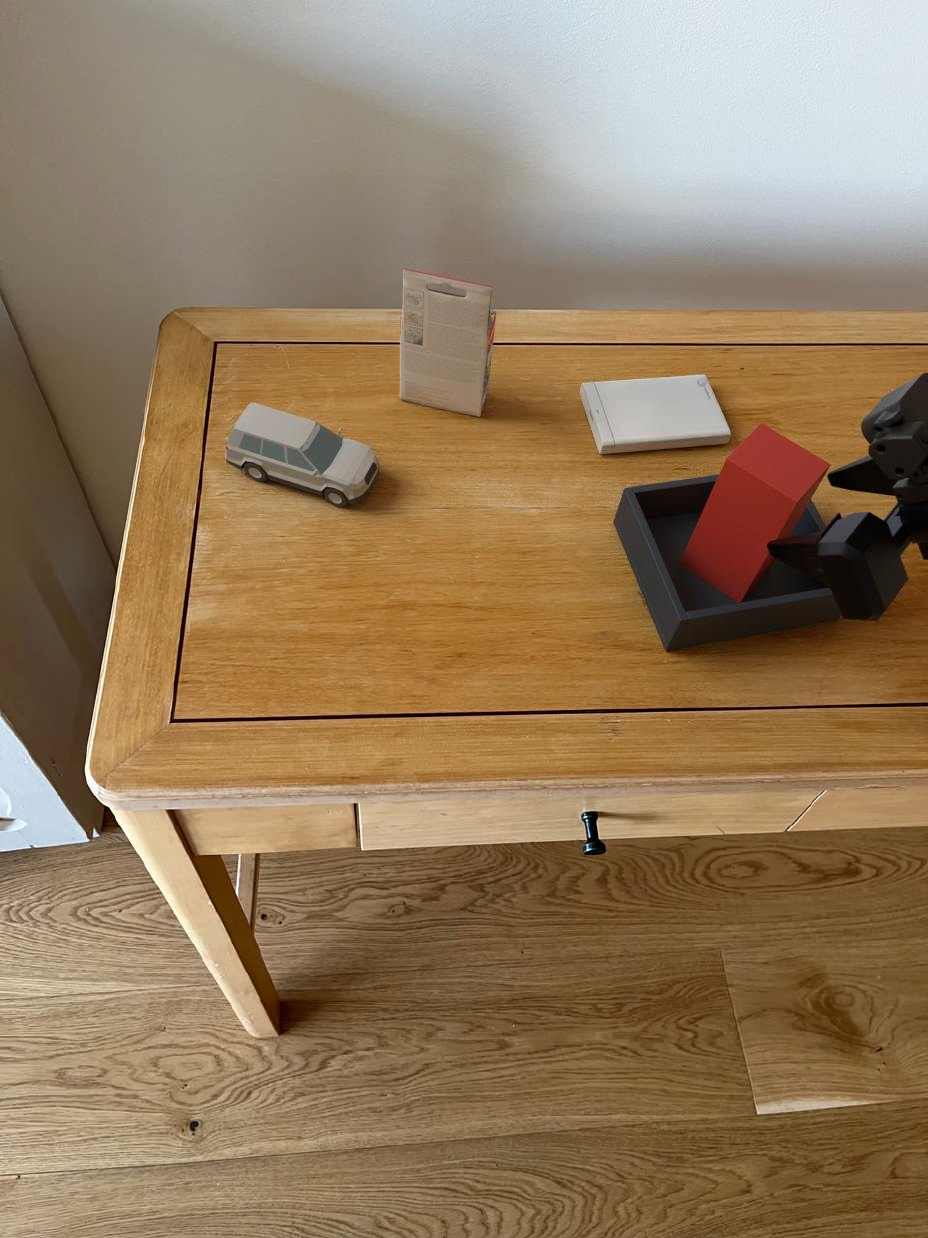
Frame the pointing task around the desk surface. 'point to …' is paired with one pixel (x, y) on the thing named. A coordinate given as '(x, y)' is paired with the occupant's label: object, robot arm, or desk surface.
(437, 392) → the ink box
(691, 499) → the dark gray tray
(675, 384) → the hard drive
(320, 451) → the toy car
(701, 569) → the package
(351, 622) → the desk surface
